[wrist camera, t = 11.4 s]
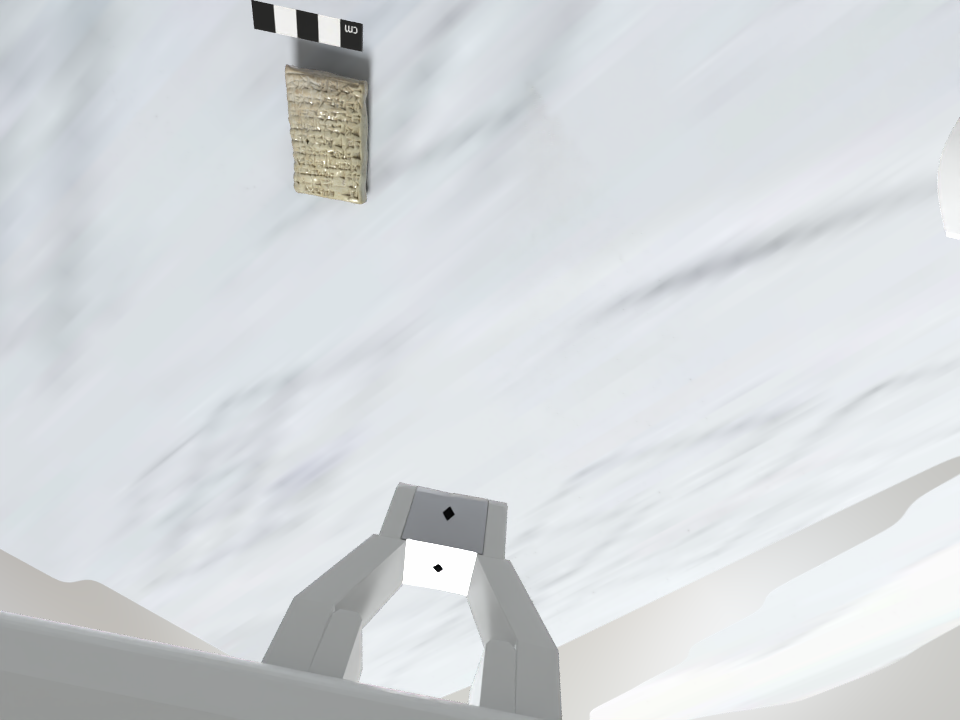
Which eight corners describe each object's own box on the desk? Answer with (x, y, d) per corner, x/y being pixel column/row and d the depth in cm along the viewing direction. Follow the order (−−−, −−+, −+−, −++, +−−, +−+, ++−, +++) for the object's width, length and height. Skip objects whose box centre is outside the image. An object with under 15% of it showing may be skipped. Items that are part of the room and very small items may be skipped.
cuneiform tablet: (362, 23, 26) (359, 215, 32) (382, 34, 29) (376, 203, 36) (251, -1, 25) (271, 197, 32) (285, 13, 29) (297, 187, 36)
